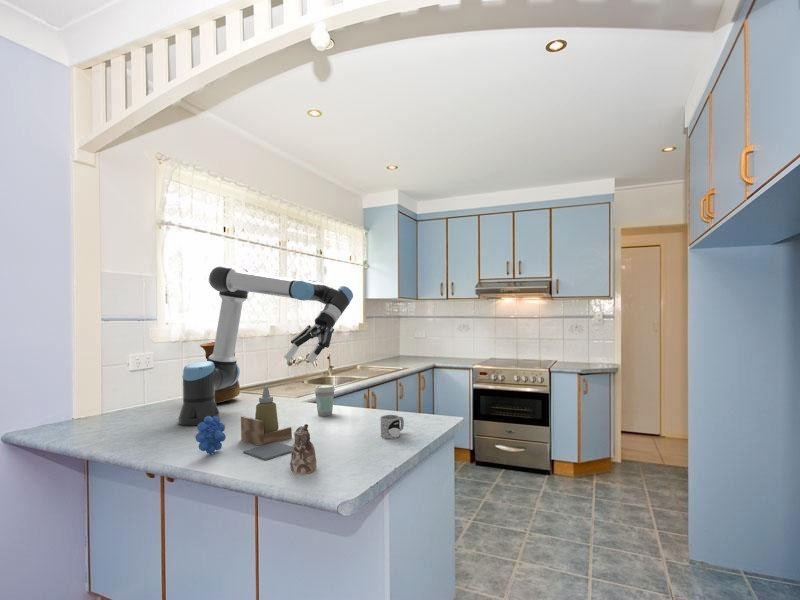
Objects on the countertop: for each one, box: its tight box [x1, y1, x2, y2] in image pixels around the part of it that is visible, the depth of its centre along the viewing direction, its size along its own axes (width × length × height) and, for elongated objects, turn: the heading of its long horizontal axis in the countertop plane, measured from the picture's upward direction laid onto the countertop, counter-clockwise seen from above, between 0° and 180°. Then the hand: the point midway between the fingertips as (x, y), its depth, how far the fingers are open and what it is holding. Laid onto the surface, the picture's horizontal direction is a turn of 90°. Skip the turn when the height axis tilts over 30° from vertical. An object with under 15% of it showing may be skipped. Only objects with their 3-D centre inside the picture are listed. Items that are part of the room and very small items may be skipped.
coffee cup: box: [314, 384, 336, 417], centre depth 184 cm, size 8×8×12 cm
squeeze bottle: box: [254, 385, 279, 434], centre depth 151 cm, size 8×8×18 cm
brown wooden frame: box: [240, 415, 293, 447], centre depth 151 cm, size 12×12×8 cm
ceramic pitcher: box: [199, 341, 241, 404], centre depth 215 cm, size 20×20×30 cm
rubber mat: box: [242, 441, 293, 461], centre depth 137 cm, size 12×12×1 cm
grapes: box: [194, 416, 227, 455], centre depth 135 cm, size 12×7×12 cm, turn 160°
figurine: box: [289, 423, 317, 475], centre depth 121 cm, size 7×7×12 cm
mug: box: [380, 414, 405, 440], centre depth 152 cm, size 10×7×7 cm, turn 137°
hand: (297, 360), depth 161 cm, fingers open, 13 cm apart
